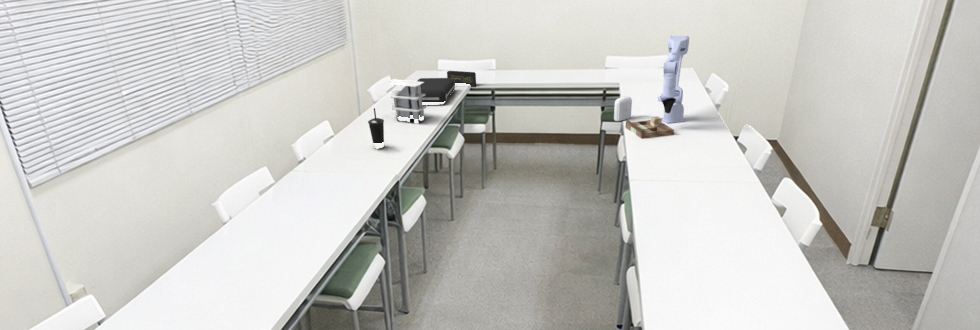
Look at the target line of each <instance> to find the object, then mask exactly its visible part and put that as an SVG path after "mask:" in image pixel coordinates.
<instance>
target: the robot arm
mask: <svg viewBox="0 0 980 330" xmlns="http://www.w3.org/2000/svg"><path fill="white" fill-rule="evenodd" d="M689 43H690V37H689V35H685V36H684V35H669V36H668V40H667V47H668V52H669V53H668V54H667V57H666V58H667V59H666V62H664V63H663V68H662V69H663V77H664V78H663V89H662V93H661V94H660V95H659V96H658V97H657V102H661V103H662V105H663V108H664V109H663V117H661V118H662V121H663V122H664V123H666V124H674V123H683V122H685V121H684V115H685V114H684V113H685V108H684V104H683V103H682V102H683V97H684V94H683V93H684V92H683V88H682V87H680V86H679V83H680V82H679V81H680V75H681V66H682V62H683V61H682V60H683V57H684V55H686V54H688V52H689V46H690V45H689Z"/></svg>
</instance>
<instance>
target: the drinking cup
mask: <svg viewBox="0 0 980 330" xmlns="http://www.w3.org/2000/svg"><path fill="white" fill-rule="evenodd" d="M373 113H374V118H371V119H369V120H367V123H368V127H369V131H370V135H371V140H372V144H373V143H382V142H384V143H385V135H384V134H385V130H384V129H385V128H384V126H385V125H384V122H385V120H384V119H383V118H379V117H377V113H376V108H375V107H374V108H373Z"/></svg>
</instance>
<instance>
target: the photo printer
mask: <svg viewBox="0 0 980 330" xmlns="http://www.w3.org/2000/svg"><path fill="white" fill-rule="evenodd" d="M632 104H633V99H632V97H631V96H627V95H625V96H620V97H618V98H616V99H615V101H614V108H613V109H614V111H613V120H614V121H615V122H620V121H626V120H629V119H631V117H632V108H633V107H632V106H633V105H632Z"/></svg>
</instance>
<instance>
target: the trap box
mask: <svg viewBox="0 0 980 330" xmlns="http://www.w3.org/2000/svg"><path fill="white" fill-rule="evenodd" d="M650 120H651V119H648V120H646V119H645V120H640V121H639V120H638V121H630V120H629V119H625V129H627V130H628V131H630V132H632V133H633V134H634V135H636V136H637V137H638V138H640V139H648V138H656V137H665V136H673V135H675V129H673V128H671V127H670V126H668V125H667V124H665V123H663V122H662V125H661V126H659V127H653V126H651V125H650Z"/></svg>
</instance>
